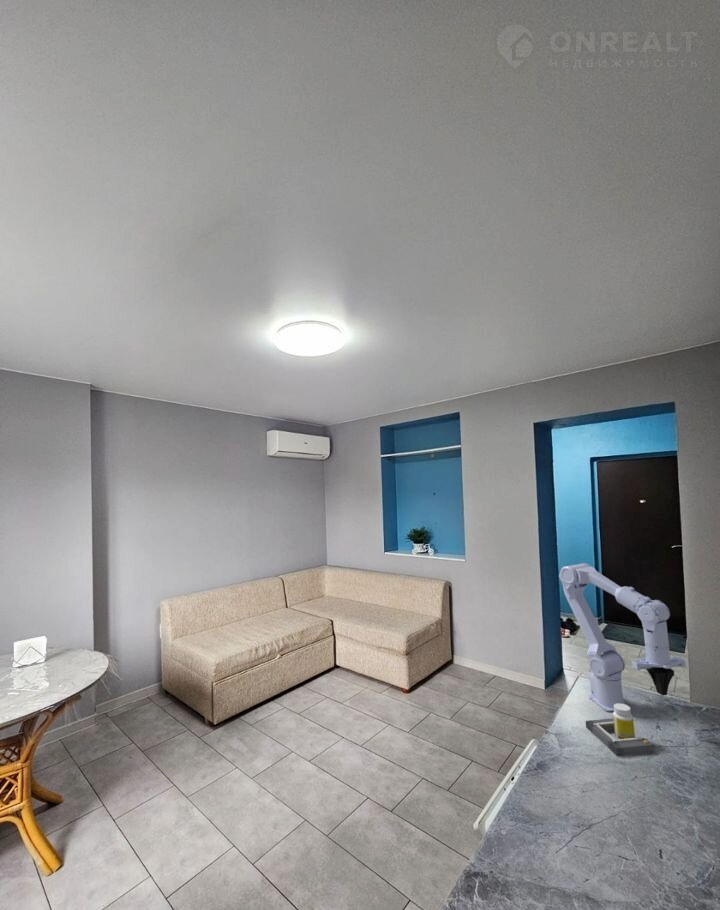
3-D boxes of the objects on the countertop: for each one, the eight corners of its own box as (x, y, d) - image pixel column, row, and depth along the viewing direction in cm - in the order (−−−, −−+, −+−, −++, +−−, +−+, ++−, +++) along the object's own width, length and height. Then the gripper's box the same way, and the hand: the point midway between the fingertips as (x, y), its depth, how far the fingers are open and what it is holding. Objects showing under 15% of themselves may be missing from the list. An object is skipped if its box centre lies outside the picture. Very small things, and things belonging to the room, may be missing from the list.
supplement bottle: (639, 742, 112) (636, 710, 113) (623, 744, 112) (619, 712, 113) (627, 732, 117) (623, 701, 118) (611, 734, 117) (608, 703, 117)
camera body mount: (586, 727, 120) (585, 718, 121) (618, 724, 121) (617, 715, 121) (616, 755, 107) (615, 745, 108) (652, 751, 108) (651, 742, 108)
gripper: (642, 651, 115) (648, 702, 114) (692, 648, 116) (698, 698, 115) (625, 642, 122) (630, 690, 121) (672, 639, 123) (677, 686, 122)
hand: (661, 693), depth 118 cm, fingers closed
